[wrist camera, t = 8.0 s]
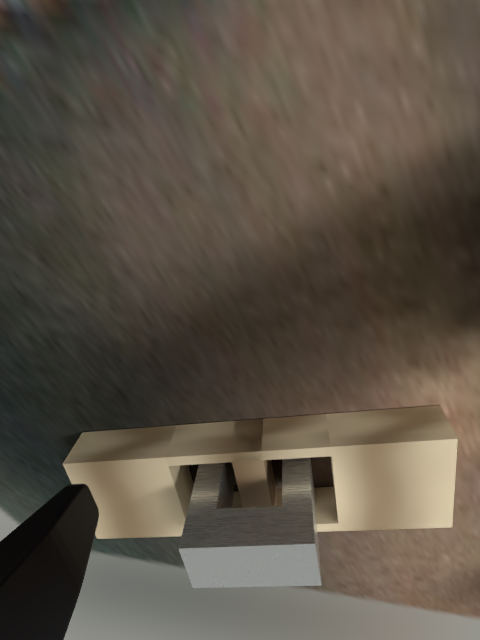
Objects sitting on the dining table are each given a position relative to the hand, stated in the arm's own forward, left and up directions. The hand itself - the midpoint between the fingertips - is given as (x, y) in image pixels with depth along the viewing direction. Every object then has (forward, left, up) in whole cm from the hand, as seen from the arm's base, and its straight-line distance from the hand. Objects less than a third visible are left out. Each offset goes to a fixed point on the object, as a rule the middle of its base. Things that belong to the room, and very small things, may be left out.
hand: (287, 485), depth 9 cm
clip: (+3, +11, -12) cm, 16 cm away
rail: (+3, +11, -12) cm, 16 cm away
